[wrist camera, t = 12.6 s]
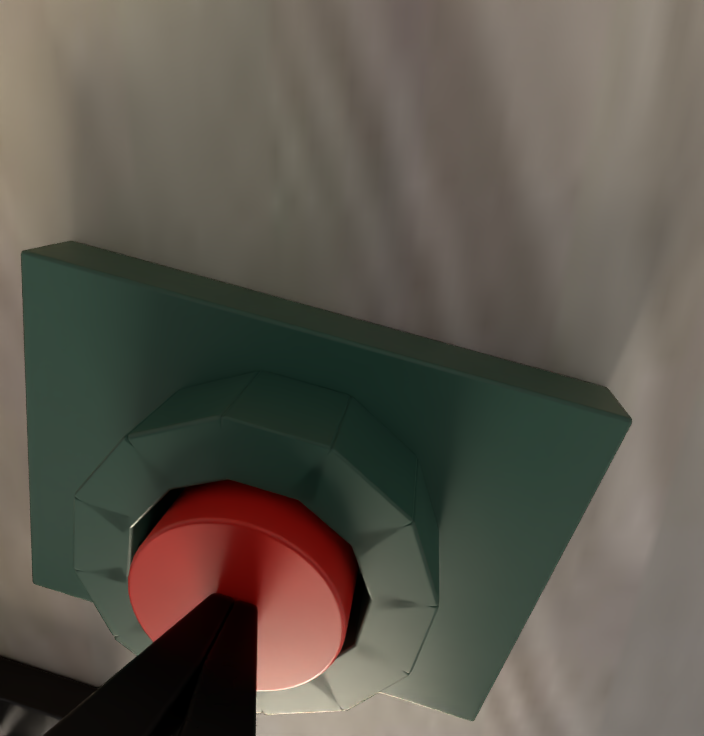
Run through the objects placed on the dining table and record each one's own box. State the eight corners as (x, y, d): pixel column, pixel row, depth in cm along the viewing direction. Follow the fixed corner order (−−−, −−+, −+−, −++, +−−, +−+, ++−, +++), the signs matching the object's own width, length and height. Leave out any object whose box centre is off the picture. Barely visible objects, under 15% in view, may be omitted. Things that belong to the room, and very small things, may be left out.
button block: (609, 386, 10) (686, 485, 7) (470, 669, 14) (480, 819, 11) (70, 239, 11) (-80, 269, 8) (69, 545, 15) (-34, 651, 11)
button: (382, 495, 9) (370, 562, 8) (336, 638, 11) (319, 718, 9) (181, 436, 10) (131, 490, 8) (165, 585, 11) (120, 654, 10)
